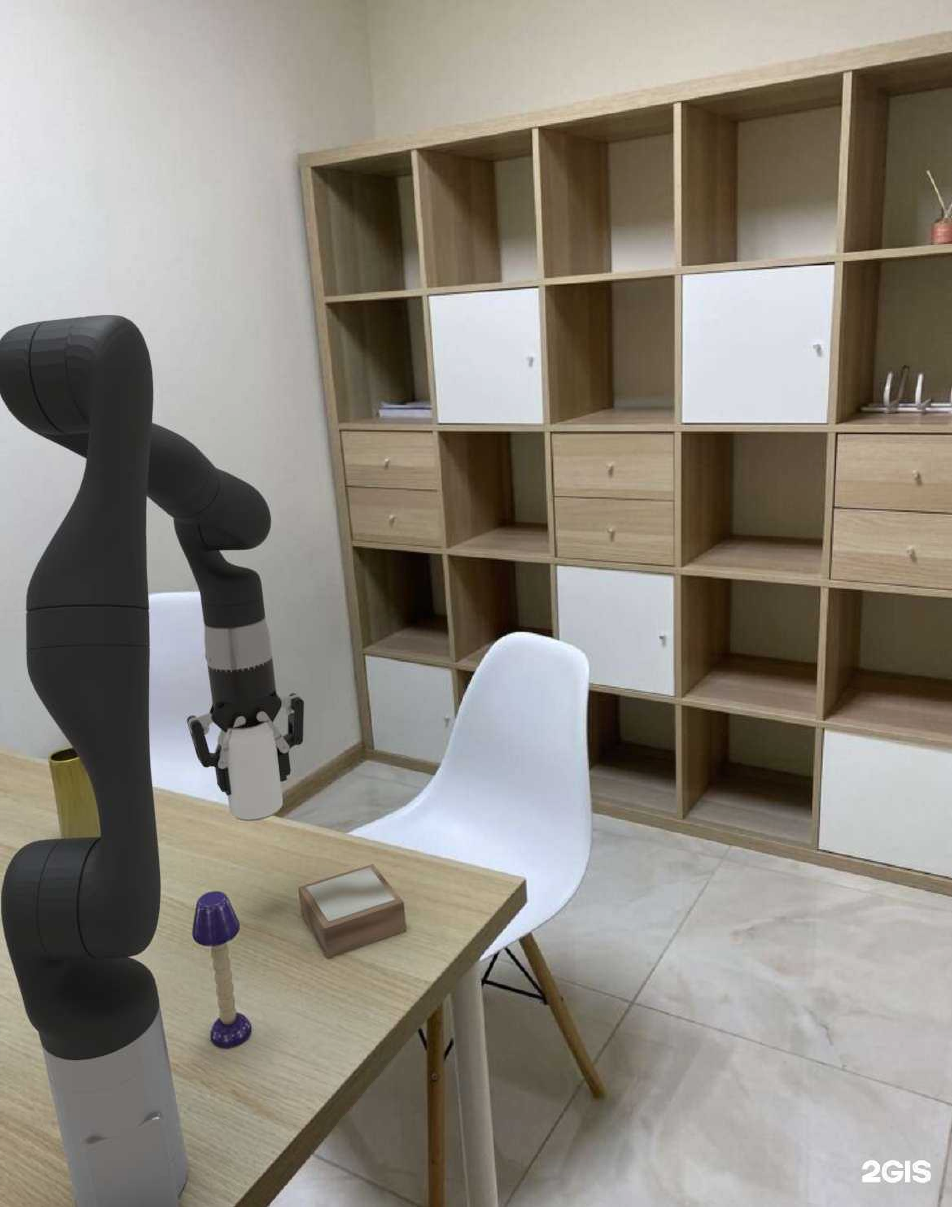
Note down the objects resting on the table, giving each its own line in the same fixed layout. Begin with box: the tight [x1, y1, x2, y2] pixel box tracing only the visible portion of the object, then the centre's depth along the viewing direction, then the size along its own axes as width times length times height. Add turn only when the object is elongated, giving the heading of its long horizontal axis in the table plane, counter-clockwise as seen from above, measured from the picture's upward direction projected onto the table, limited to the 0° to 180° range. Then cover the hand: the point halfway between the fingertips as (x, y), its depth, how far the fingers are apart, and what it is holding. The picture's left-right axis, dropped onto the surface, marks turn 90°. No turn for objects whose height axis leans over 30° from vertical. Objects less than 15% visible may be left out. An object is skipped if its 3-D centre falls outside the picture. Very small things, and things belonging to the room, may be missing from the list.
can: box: [219, 721, 284, 822], centre depth 117 cm, size 6×6×12 cm
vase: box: [48, 746, 101, 839], centre depth 140 cm, size 6×6×14 cm
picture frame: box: [297, 863, 407, 959], centre depth 118 cm, size 10×10×4 cm
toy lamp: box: [191, 890, 253, 1049], centre depth 98 cm, size 5×5×17 cm
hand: (255, 785), depth 118 cm, fingers closed on can, 6 cm apart
